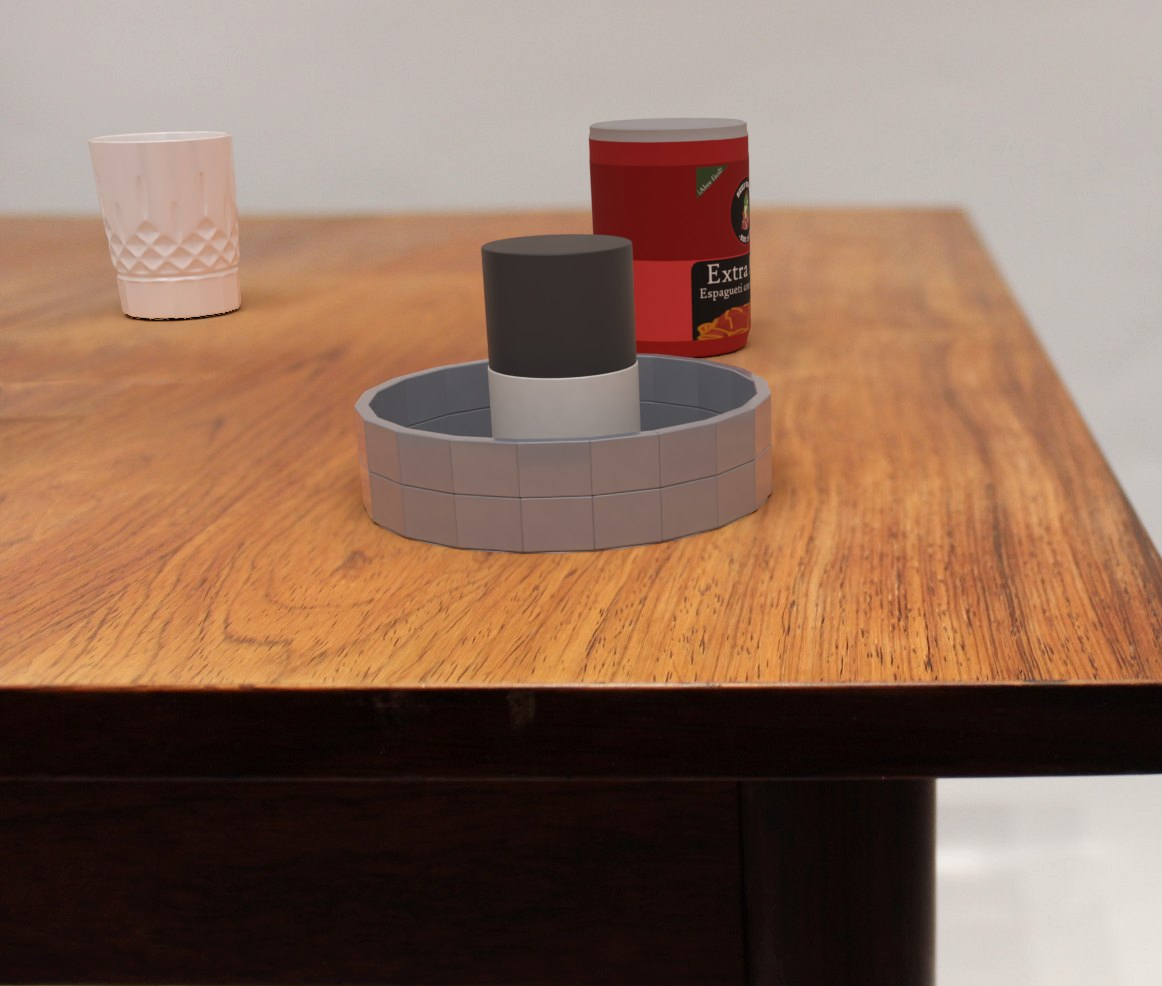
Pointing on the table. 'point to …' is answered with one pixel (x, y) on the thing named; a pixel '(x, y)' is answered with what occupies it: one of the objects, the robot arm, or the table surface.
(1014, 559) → the table surface
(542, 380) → the container
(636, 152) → the canned food
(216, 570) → the table surface
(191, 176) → the white cup
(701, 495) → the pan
